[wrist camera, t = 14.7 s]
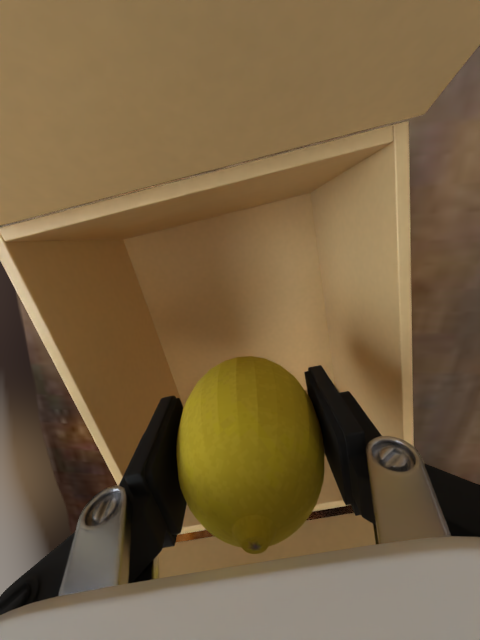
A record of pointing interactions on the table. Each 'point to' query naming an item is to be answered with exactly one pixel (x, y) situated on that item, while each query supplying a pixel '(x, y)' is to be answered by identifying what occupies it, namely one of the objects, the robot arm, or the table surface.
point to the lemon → (250, 453)
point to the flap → (203, 85)
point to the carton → (232, 302)
